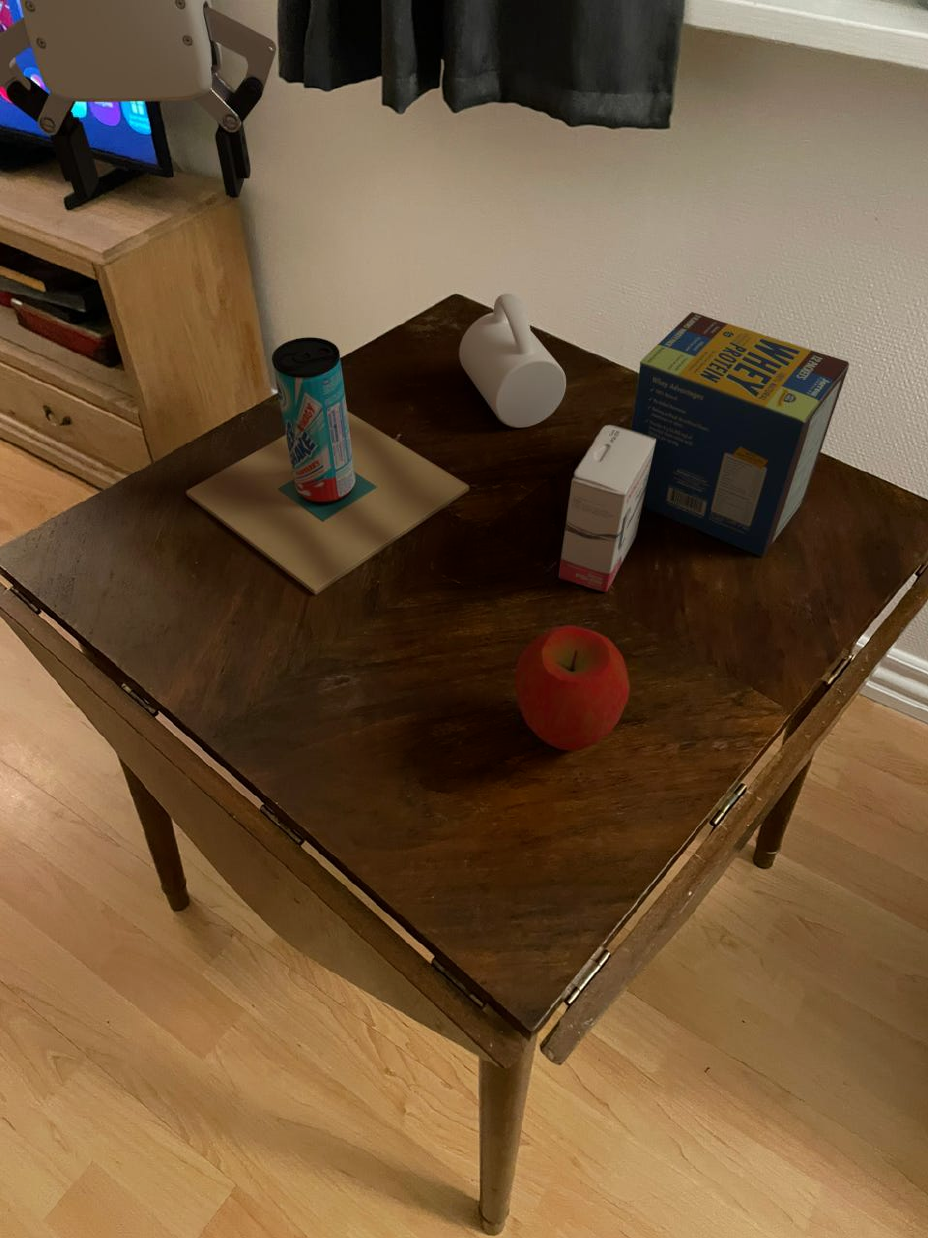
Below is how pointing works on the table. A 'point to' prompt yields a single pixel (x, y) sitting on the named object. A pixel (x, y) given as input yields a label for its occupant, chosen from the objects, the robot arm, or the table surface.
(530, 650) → the apple
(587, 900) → the table surface
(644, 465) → the ink box
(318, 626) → the table surface
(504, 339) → the mug
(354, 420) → the cork mat
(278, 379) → the beverage can
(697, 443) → the protein box
